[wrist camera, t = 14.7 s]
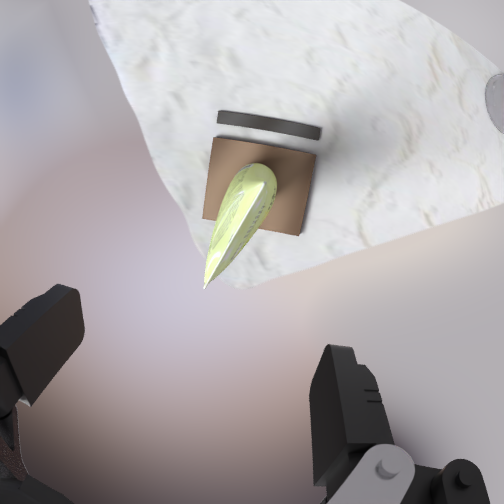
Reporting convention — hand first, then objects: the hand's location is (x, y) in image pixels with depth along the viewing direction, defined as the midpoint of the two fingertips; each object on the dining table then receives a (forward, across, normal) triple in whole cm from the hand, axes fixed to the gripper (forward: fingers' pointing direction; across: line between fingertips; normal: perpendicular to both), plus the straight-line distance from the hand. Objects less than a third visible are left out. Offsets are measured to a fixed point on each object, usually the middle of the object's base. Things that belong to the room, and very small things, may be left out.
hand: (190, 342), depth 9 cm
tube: (+29, 0, 0) cm, 29 cm away
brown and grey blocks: (+29, 0, -2) cm, 29 cm away
